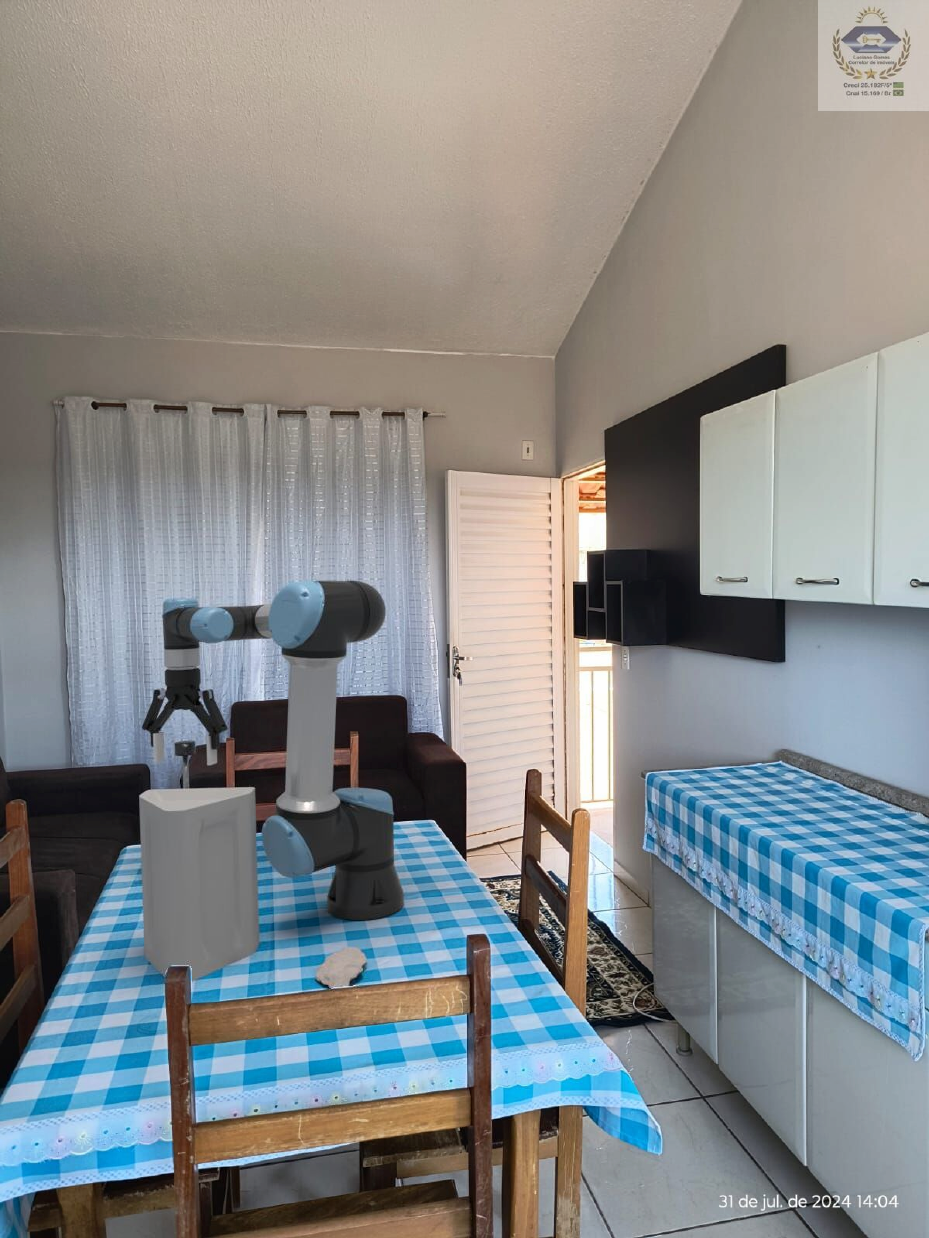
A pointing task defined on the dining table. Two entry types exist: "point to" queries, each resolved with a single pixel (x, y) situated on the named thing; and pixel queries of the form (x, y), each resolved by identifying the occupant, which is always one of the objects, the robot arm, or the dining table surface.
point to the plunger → (185, 757)
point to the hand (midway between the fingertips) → (185, 762)
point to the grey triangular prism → (199, 877)
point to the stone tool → (341, 967)
